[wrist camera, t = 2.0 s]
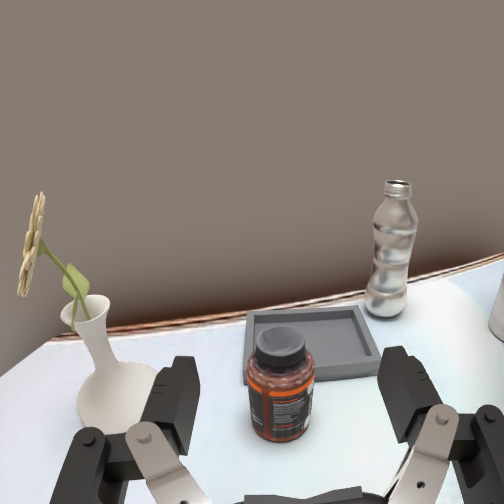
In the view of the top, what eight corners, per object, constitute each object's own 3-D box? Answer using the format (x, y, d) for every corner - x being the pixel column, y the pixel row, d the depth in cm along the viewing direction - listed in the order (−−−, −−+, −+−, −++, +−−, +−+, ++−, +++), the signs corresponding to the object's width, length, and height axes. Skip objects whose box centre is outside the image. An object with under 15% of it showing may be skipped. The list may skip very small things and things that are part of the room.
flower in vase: (89, 379, 34) (25, 187, 24) (170, 369, 36) (127, 164, 27) (77, 460, 22) (-47, 224, 13) (181, 454, 25) (98, 187, 15)
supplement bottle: (321, 422, 28) (333, 340, 23) (276, 454, 25) (275, 376, 20) (284, 392, 32) (285, 310, 28) (240, 417, 29) (229, 336, 25)
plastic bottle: (359, 301, 48) (368, 177, 41) (396, 299, 48) (411, 179, 40) (367, 324, 43) (381, 186, 35) (408, 321, 42) (429, 188, 34)
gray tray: (355, 319, 44) (357, 305, 43) (378, 375, 33) (382, 360, 32) (248, 325, 45) (247, 311, 44) (244, 385, 34) (242, 370, 33)
